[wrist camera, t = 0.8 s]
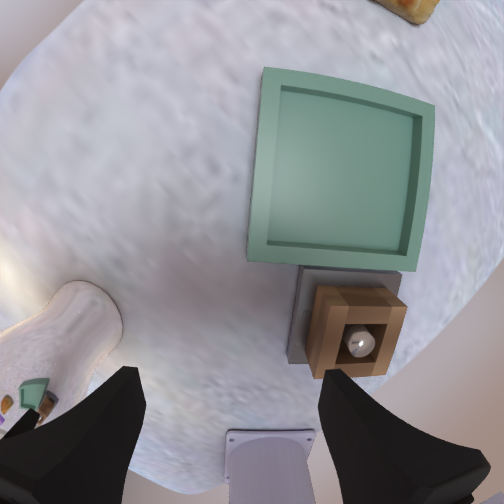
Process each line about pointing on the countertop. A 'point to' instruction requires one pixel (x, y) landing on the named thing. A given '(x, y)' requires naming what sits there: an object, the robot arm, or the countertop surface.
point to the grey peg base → (308, 280)
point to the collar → (353, 312)
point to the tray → (339, 173)
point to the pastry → (411, 9)
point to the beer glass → (54, 356)
